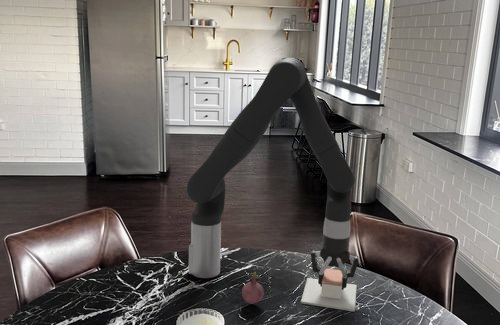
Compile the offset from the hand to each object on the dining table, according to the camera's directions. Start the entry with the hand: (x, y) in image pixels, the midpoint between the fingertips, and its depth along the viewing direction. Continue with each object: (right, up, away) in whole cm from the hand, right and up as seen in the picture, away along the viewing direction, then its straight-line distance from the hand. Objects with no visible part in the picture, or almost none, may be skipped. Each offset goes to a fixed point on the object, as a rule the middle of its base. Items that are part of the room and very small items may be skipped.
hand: (332, 286), depth 140 cm
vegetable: (-24, -4, -6) cm, 25 cm away
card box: (0, -1, 0) cm, 1 cm away
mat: (-1, -3, +1) cm, 3 cm away
